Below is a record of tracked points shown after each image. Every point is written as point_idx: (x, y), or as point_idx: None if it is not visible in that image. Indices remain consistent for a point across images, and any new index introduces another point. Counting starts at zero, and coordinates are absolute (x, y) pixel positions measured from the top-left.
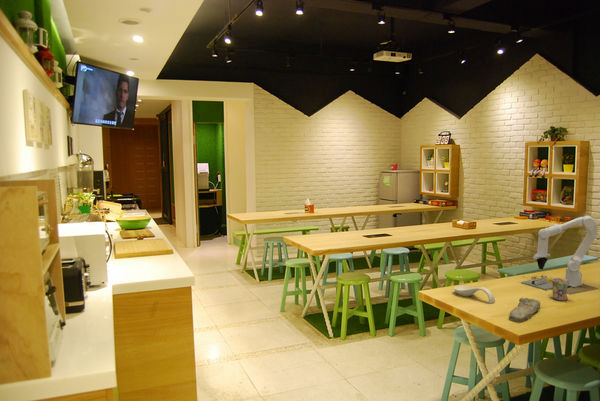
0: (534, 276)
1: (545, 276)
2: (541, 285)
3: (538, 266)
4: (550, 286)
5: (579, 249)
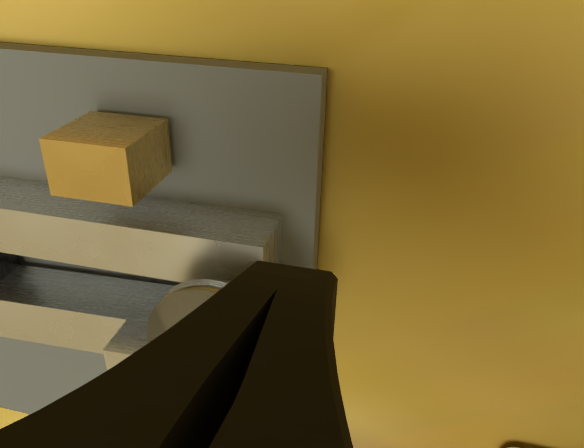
0: (115, 163)
1: None
2: None
3: (209, 302)
4: None
5: None
